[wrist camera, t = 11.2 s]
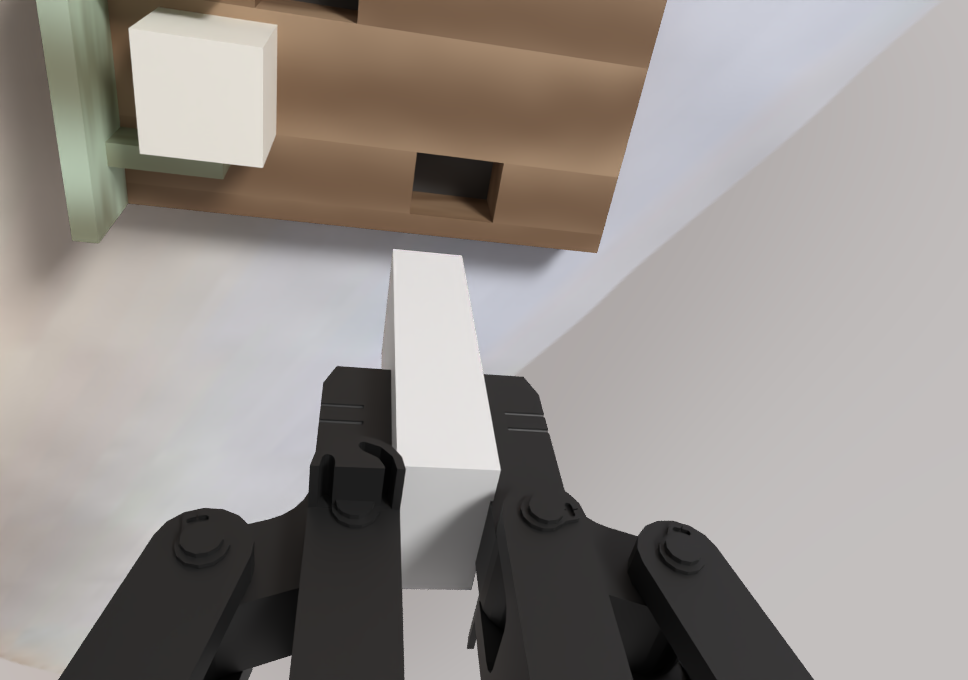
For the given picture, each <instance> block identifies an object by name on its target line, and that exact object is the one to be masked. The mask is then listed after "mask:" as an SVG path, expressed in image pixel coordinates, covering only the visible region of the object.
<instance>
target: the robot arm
mask: <svg viewBox="0 0 968 680" xmlns="http://www.w3.org/2000/svg"><path fill="white" fill-rule="evenodd" d="M543 415H544V413H543V410H542V406H541V402H540V398H539V395H538V394H537V392H536V391H535V390H534V389H533V388H532V387H531V385H530V384H529V383H528V382H527V381H526V380H525V378H524V377H516V376H501V375H486V374H483V369H482V364H481V358H480V352H479V347H478V341H477V336H476V330H475V325H474V319H473V314H472V308H471V303H470V297H469V291H468V286H467V280H466V275H465V269H464V264H463V258H462V256H461V255H451V254H440V253H430V252H420V251H410V250H399V249H393V254H392V263H391V272H390V281H389V290H388V299H387V308H386V317H385V326H384V335H383V344H382V369H371V368H356V367H341V366H337V367H336V368H335V369H334V370H333V372H332V373H331V374H330V375H329V376H328V378H327V379H326V380H325V381H324V383H323V390H322V400H321V409H320V418H319V427H318V436H317V445H316V453H315V455H314V457H313V459H312V462H311V464H310V476H309V493H308V494H307V496H306V497H305V499H304V500H303V501H302V502H301V503H300V504H299V505H297V506H296V507H295V508H294V509H292V510H290V511H289V512H287V513H285V514H283V515H281V516H278V517H275V518H272V519H269V520H264V521H260V522H256V523H251V524H247V523H246V522H245V521H244V520H243V519H242V518H241V517H240V516H239V515H236V514H234V513H231V512H229V511H226V510H224V509H211V508H202V509H197V510H193V511H188V512H184V513H182V514H180V515H178V516H176V517H175V518H173V519H171V520H169V521H167V522H166V523H165V524H164V525H163V526H162V527H161V528H160V529H159V530H158V531H157V532H156V533H155V534H154V535H153V537H152V538H151V540H150V541H149V543H148V544H147V546H146V547H145V549H144V551H143V552H142V554H141V555H140V557H139V558H138V560H137V561H136V563H135V564H134V566H133V567H132V569H131V570H130V572H129V573H128V575H127V576H126V578H125V579H124V581H123V582H122V584H121V585H120V587H119V588H118V590H117V591H116V593H115V594H114V596H113V597H112V599H111V601H110V602H109V604H108V605H107V607H106V608H105V610H104V611H103V613H102V614H101V616H100V617H99V619H98V620H97V622H96V623H95V625H94V626H93V628H92V629H91V631H90V632H89V634H88V635H87V637H86V638H85V640H84V641H83V643H82V644H81V646H80V648H79V649H78V651H77V652H76V654H75V655H74V657H73V658H72V660H71V661H70V663H69V664H68V666H67V667H66V669H65V670H64V672H63V673H62V675H61V676H60V678H59V679H58V680H248V678H249V676H250V674H251V672H252V668H253V667H256V666H259V665H262V664H265V663H268V662H271V661H275V660H278V659H281V658H284V657H287V656H291V655H292V658H291V667H290V677H289V680H404V648H403V608H402V589H447V590H451V589H452V590H453V589H454V590H471V589H472V585H473V581H474V577H475V573H477V581H478V589H479V597H478V601H477V605H476V609H475V612H474V617H473V621H472V625H471V629H470V632H469V636H468V645H467V649H474V646H475V642H476V639H477V649H478V658H479V665H480V666H479V667H480V676H481V680H814V679H813V678H812V677H811V675H810V674H809V672H808V671H807V670H806V668H805V667H804V665H803V664H802V663H801V662H800V660H799V659H798V657H797V656H796V655H795V653H794V652H793V651H792V649H791V648H790V646H789V645H788V644H787V643H786V641H785V640H784V638H783V637H782V636H781V634H780V633H779V631H778V630H777V629H776V627H775V626H774V625H773V623H772V622H771V621H770V619H769V618H768V617H767V615H766V614H765V612H764V611H763V610H762V609H761V607H760V606H759V604H758V603H757V602H756V600H755V599H754V598H753V596H752V595H751V594H750V592H749V591H748V589H747V588H746V587H745V585H744V584H743V582H742V581H741V580H740V579H739V577H738V576H737V574H736V573H735V572H734V570H733V569H732V568H731V566H730V565H729V563H728V562H727V561H726V559H725V558H724V557H723V555H722V554H721V553H720V551H719V550H718V548H717V547H716V546H715V545H714V544H713V543H712V542H711V541H710V540H709V539H708V538H707V537H706V536H705V535H703V534H702V533H700V532H699V531H697V530H695V529H694V528H692V527H691V526H688V525H685V524H681V523H678V522H675V521H656V522H654V523H651V524H649V525H647V526H645V527H644V529H643V530H642V531H641V533H640V534H639V535H638V536H635V535H631V534H628V533H624V532H621V531H618V530H615V529H611V528H608V527H605V526H603V525H600V524H598V523H596V522H594V521H592V520H590V519H589V518H587V517H586V515H585V513H584V512H583V510H582V508H581V506H580V504H579V503H578V502H577V501H576V500H575V499H574V498H573V497H572V496H571V495H569V494H568V493H567V492H565V490H564V487H563V483H562V479H561V476H560V472H559V468H558V465H557V461H556V457H555V454H554V450H553V446H552V443H551V439H550V435H549V433H548V428H547V424H546V420H545V418H544V417H543Z"/></svg>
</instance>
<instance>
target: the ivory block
mask: <svg viewBox="0 0 968 680" xmlns="http://www.w3.org/2000/svg"><path fill="white" fill-rule="evenodd" d="M128 29H129V40H130V51H131V62H132V73H133V84H134V95H135V106H136V117H137V128H138V139H139V150H140V154H147V155H155V156H164V157H172V158H181V159H190V160H198V161H207V162H215V163H224V164H233V165H241V166H250V167H258V168H263V166H264V164H265V161H266V159H267V156H268V154H269V151H270V149H271V146H272V144H273V141H274V139H275V136H276V104H277V25H275V24H269V23H262V22H255V21H249V20H242V19H235V18H229V17H222V16H215V15H209V14H202V13H195V12H189V11H182V10H175V9H169V8H162V7H158V8H157V9H155V10H154V11H152V12H151V13H149V14H148V15H147V16H145V17H144V18H142V19H141V20H139V21H138V22H137V23H135V24H134V25H132V26H131V27H130V28H128Z"/></svg>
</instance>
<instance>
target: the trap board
mask: <svg viewBox="0 0 968 680" xmlns="http://www.w3.org/2000/svg"><path fill="white" fill-rule="evenodd" d="M666 2H667V0H36V5H37V12H38V18H39V25H40V31H41V38H42V45H43V51H44V58H45V64H46V71H47V78H48V84H49V91H50V98H51V104H52V111H53V117H54V124H55V131H56V137H57V144H58V150H59V157H60V164H61V170H62V177H63V184H64V190H65V197H66V203H67V210H68V217H69V223H70V230H71V236H72V241H78V242H89V243H100V241H101V240H102V239H103V237H104V236H105V235H106V233H107V232H108V230H109V229H110V228H111V226H112V225H113V224H114V222H115V221H116V219H117V218H118V217H119V215H120V214H121V213H122V211H123V210H124V209H125V207H126V206H127V204H128V203H129V204H138V205H148V206H157V207H167V208H176V209H186V210H195V211H204V212H214V213H223V214H233V215H242V216H252V217H261V218H271V219H280V220H290V221H299V222H308V223H318V224H327V225H337V226H346V227H356V228H365V229H375V230H384V231H393V232H403V233H412V234H422V235H431V236H441V237H450V238H460V239H469V240H478V241H488V242H497V243H507V244H516V245H526V246H535V247H545V248H554V249H564V250H573V251H582V252H592V253H597V251H598V248H599V244H600V240H601V237H602V233H603V230H604V226H605V222H606V219H607V215H608V212H609V208H610V204H611V201H612V197H613V193H614V190H615V186H616V183H617V179H618V175H619V172H620V168H621V165H622V161H623V157H624V154H625V150H626V147H627V143H628V139H629V136H630V132H631V128H632V125H633V121H634V118H635V114H636V110H637V107H638V103H639V100H640V96H641V92H642V89H643V85H644V82H645V78H646V74H647V71H648V67H649V63H650V60H651V56H652V53H653V49H654V45H655V42H656V38H657V35H658V31H659V27H660V24H661V20H662V17H663V13H664V9H665V6H666ZM158 7H162V8H169V9H175V10H182V11H189V12H195V13H202V14H209V15H215V16H222V17H229V18H235V19H242V20H249V21H255V22H262V23H269V24H275V25H277V104H276V136H275V139H274V141H273V144H272V146H271V149H270V151H269V154H268V156H267V159H266V161H265V164H264V166H263V168H258V167H250V166H241V165H233V164H224V163H215V162H207V161H198V160H190V159H181V158H172V157H164V156H155V155H147V154H140V150H139V139H138V128H137V117H136V106H135V95H134V84H133V73H132V62H131V51H130V40H129V29H128V28H130V27H131V26H132V25H134V24H135V23H137V22H138V21H139V20H141V19H142V18H144V17H145V16H147V15H148V14H149V13H151V12H152V11H154V10H155V9H157V8H158Z"/></svg>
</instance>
